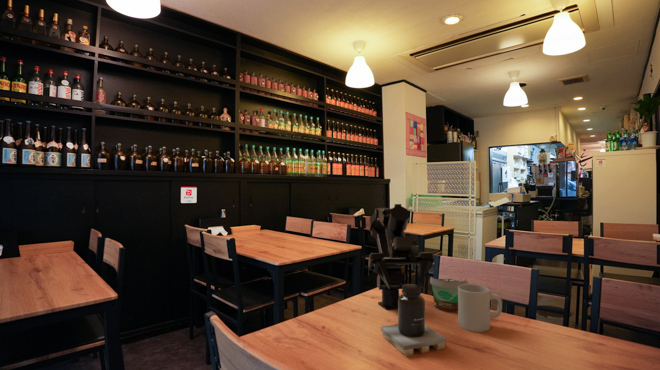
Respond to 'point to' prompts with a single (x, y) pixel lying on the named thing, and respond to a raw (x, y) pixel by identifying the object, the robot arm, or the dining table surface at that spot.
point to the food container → (446, 293)
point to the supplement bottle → (411, 311)
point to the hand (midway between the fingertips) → (406, 287)
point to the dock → (413, 340)
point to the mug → (476, 307)
